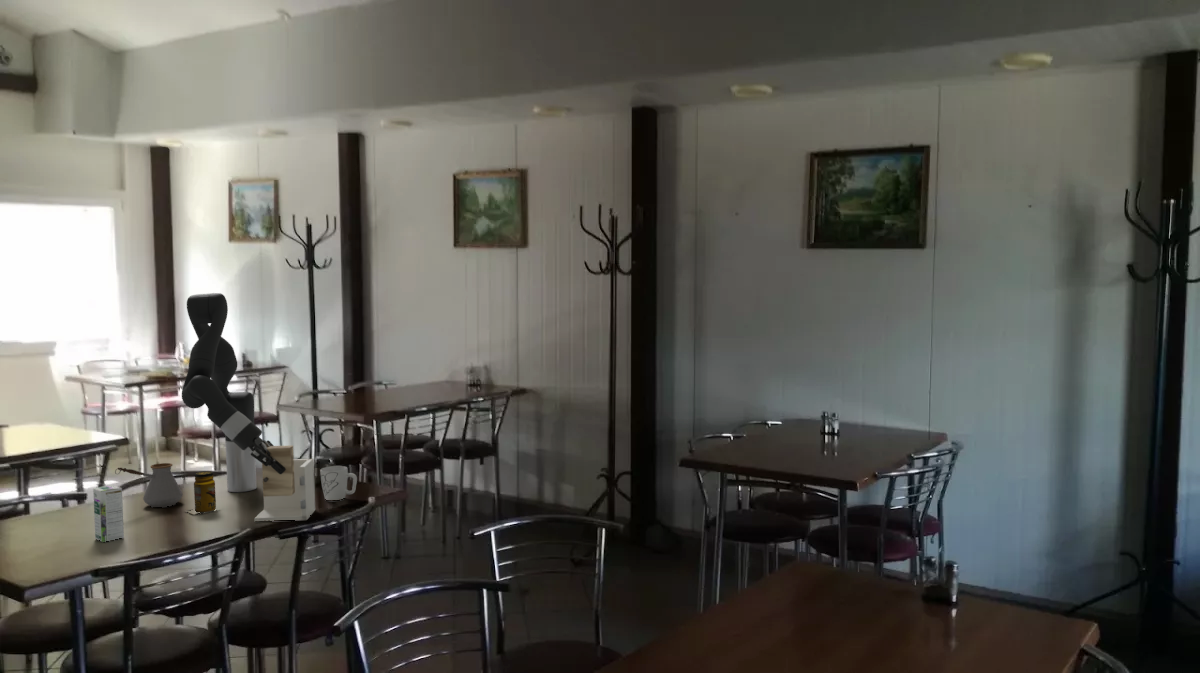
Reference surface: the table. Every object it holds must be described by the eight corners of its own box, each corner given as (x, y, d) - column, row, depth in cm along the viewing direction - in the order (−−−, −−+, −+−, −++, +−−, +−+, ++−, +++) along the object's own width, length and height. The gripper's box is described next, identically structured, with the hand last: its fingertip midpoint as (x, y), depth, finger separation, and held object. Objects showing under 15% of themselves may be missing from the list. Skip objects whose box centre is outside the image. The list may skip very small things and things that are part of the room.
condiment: (221, 510, 291) (219, 472, 290) (193, 516, 285) (191, 477, 284) (211, 506, 296) (210, 469, 295) (184, 511, 290) (182, 473, 289)
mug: (360, 495, 307) (359, 465, 306) (354, 501, 299) (353, 470, 298) (325, 496, 307) (324, 466, 306) (318, 502, 298) (317, 471, 298)
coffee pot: (166, 499, 307) (164, 453, 306) (191, 502, 301) (188, 456, 300) (106, 514, 288) (104, 466, 287) (131, 518, 283) (128, 469, 281)
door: (267, 493, 276) (265, 446, 275) (294, 492, 276) (293, 445, 276) (262, 497, 271) (260, 449, 270) (290, 496, 271) (289, 448, 271)
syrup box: (94, 539, 261) (91, 488, 260) (116, 534, 265) (113, 484, 264) (103, 543, 257) (100, 491, 256) (125, 538, 261) (122, 487, 260)
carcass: (265, 511, 288) (263, 460, 287) (315, 509, 289) (313, 458, 288) (253, 523, 275) (250, 469, 273) (305, 521, 276) (303, 467, 275)
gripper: (243, 425, 265) (288, 466, 267) (256, 417, 279) (300, 456, 281) (224, 444, 265) (270, 485, 267) (239, 435, 279) (282, 474, 281)
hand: (285, 470), depth 274 cm, fingers closed on door, 4 cm apart
